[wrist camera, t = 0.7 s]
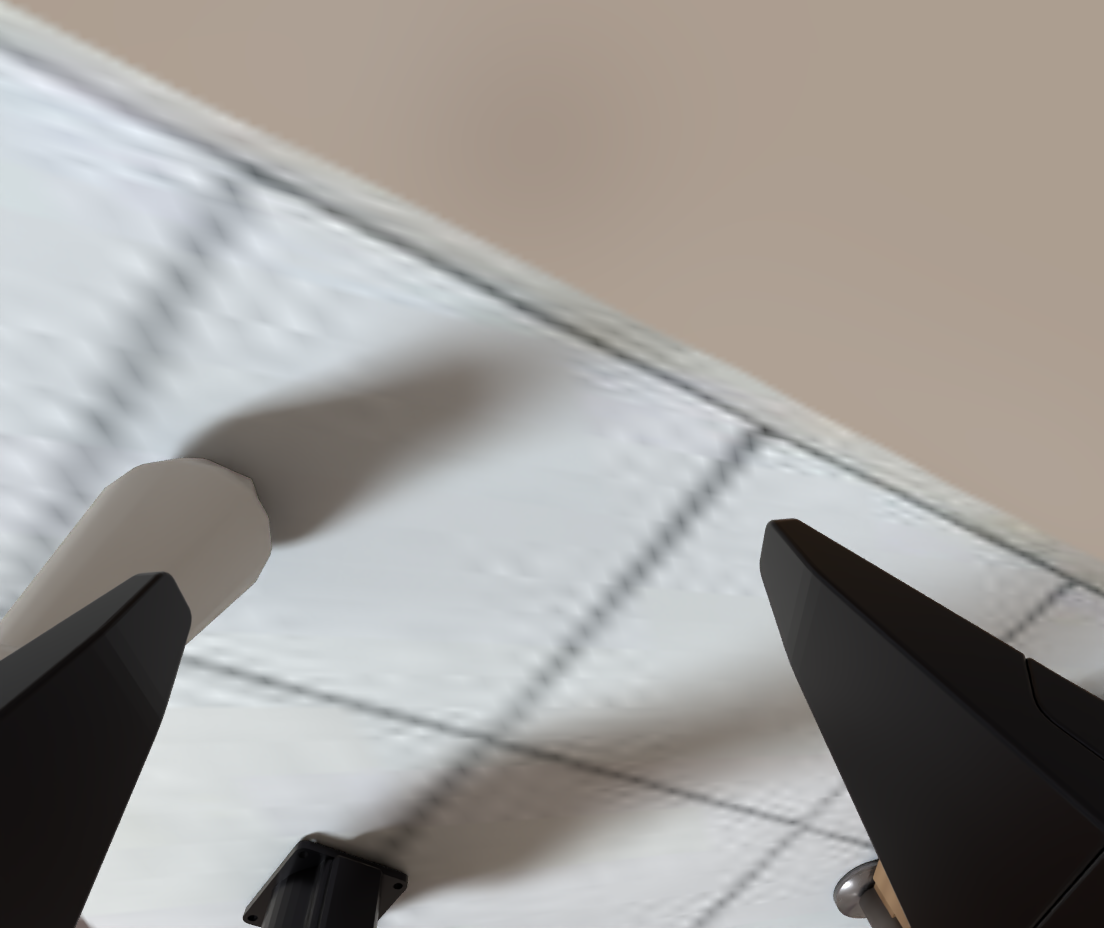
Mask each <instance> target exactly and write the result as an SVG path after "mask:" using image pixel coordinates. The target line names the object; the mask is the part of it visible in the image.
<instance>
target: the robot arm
mask: <svg viewBox="0 0 1104 928" xmlns="http://www.w3.org/2000/svg"><path fill="white" fill-rule="evenodd" d="M760 573H761V577H762V580H763V583H764V586H765V589H766V592H767V595H768V599H769V602H770V605H771V608H772V611H773V614H774V617H775V620H776V623H777V626H778V629H779V632H780V635H781V638H782V641H783V645H784V648H785V651H786V653H787V656H788V659H789V662H790V665H791V667H792V669H793V672H794V674H795V676H796V679H797V681H798V683H799V685H800V687H801V690H802V692H803V694H804V696H805V698H806V700H807V703H808V705H809V707H810V709H811V711H812V714H813V716H814V718H815V720H816V722H817V724H818V727H819V729H820V731H821V733H822V735H823V738H824V740H825V742H826V744H827V746H828V748H829V751H830V753H831V755H832V757H833V759H834V762H835V764H836V766H837V768H838V770H839V772H840V775H841V777H842V779H843V781H844V783H845V785H846V788H847V790H848V792H849V794H850V796H851V799H852V801H853V803H854V805H855V807H856V809H857V812H858V814H859V816H860V818H861V820H862V823H863V825H864V827H865V829H866V831H867V833H868V836H869V838H870V840H871V842H872V844H873V847H874V849H875V851H876V853H877V855H878V857H879V860H880V862H881V864H882V866H883V868H884V871H885V873H886V875H887V877H888V879H889V881H890V884H891V886H892V888H893V890H894V892H895V894H896V897H897V899H898V901H899V903H900V905H901V908H902V910H903V912H904V914H905V916H906V918H907V921H908V923H909V925H910V927H911V928H1104V700H1102V699H1100V698H1098V697H1097V696H1095V695H1093V694H1091V693H1090V692H1088V691H1086V690H1084V689H1083V688H1081V687H1079V686H1077V685H1076V684H1074V683H1072V682H1070V681H1069V680H1067V679H1065V678H1064V677H1062V676H1060V675H1058V674H1057V673H1055V672H1053V671H1052V670H1050V669H1048V668H1047V667H1045V666H1043V665H1042V664H1040V663H1038V662H1037V661H1035V660H1033V659H1032V658H1026V659H1025V656H1024V654H1023V653H1021V652H1020V651H1018V650H1016V649H1014V648H1013V647H1011V646H1009V645H1008V644H1006V643H1004V642H1003V641H1001V640H999V639H998V638H996V637H994V636H993V635H991V634H989V633H988V632H986V631H984V630H983V629H981V628H979V627H978V626H976V625H974V624H973V623H971V622H969V621H968V620H966V619H964V618H962V617H961V616H959V615H957V614H956V613H954V612H952V611H951V610H949V609H947V608H946V607H944V606H942V605H941V604H939V603H937V602H936V601H934V600H932V599H931V598H929V597H927V596H926V595H924V594H922V593H921V592H919V591H917V590H916V589H914V588H912V587H910V586H909V585H907V584H905V583H904V582H902V581H900V580H899V579H897V578H895V577H894V576H892V575H890V574H889V573H887V572H885V571H884V570H882V569H880V568H879V567H877V566H875V565H874V564H872V563H870V562H869V561H867V560H865V559H864V558H862V557H860V556H858V555H857V554H855V553H853V552H852V551H850V550H848V549H847V548H845V547H843V546H842V545H840V544H838V543H837V542H835V541H833V540H832V539H830V538H828V537H827V536H825V535H823V534H822V533H820V532H818V531H817V530H815V529H813V528H812V527H810V526H808V525H806V524H805V523H803V522H801V521H800V520H798V519H793V518H791V519H779V520H771V521H770V522H769V523H768V524H767V526H766V529H765V534H764V540H763V545H762V551H761V557H760ZM191 624H192V614H191V610H190V608H189V606H188V604H187V602H186V600H185V598H184V596H183V594H182V592H181V591H180V589H179V587H178V585H177V583H176V581H175V579H174V578H173V576H172V575H171V574H169V573H168V572H164V571H158V572H146V573H139V574H136V575H134V576H132V577H130V578H129V579H127V580H126V581H124V582H123V583H121V584H119V585H118V586H116V587H115V588H113V589H112V590H110V591H109V592H107V593H105V594H104V595H102V596H101V597H99V598H98V599H96V600H94V601H93V602H91V603H90V604H88V605H87V606H85V607H83V608H82V609H80V610H79V611H77V612H76V613H74V614H72V615H71V616H69V617H68V618H66V619H65V620H63V621H61V622H60V623H58V624H57V625H55V626H54V627H52V628H50V629H49V630H47V631H46V632H44V633H43V634H41V635H39V636H38V637H36V638H35V639H33V640H32V641H30V642H28V643H27V644H25V645H24V646H22V647H21V648H19V649H18V650H16V651H14V652H13V653H11V654H10V655H8V656H7V657H5V658H3V659H2V660H0V928H75V927H76V924H77V922H78V920H79V917H80V915H81V913H82V910H83V908H84V906H85V903H86V901H87V898H88V896H89V894H90V891H91V889H92V887H93V884H94V882H95V880H96V877H97V875H98V872H99V870H100V868H101V865H102V863H103V861H104V858H105V856H106V853H107V851H108V849H109V846H110V844H111V842H112V839H113V837H114V835H115V832H116V830H117V827H118V825H119V823H120V820H121V818H122V816H123V813H124V811H125V808H126V806H127V804H128V801H129V799H130V797H131V794H132V792H133V789H134V787H135V785H136V782H137V780H138V778H139V775H140V773H141V771H142V768H143V766H144V763H145V761H146V759H147V756H148V754H149V752H150V749H151V747H152V744H153V742H154V740H155V737H156V735H157V732H158V730H159V727H160V725H161V722H162V719H163V716H164V713H165V710H166V707H167V704H168V701H169V698H170V694H171V691H172V688H173V685H174V681H175V678H176V675H177V671H178V668H179V665H180V661H181V658H182V655H183V652H184V648H185V645H186V642H187V638H188V635H189V632H190V628H191ZM407 885H408V876H407V875H406V874H404V873H402V872H399V871H396V870H393V869H390V868H387V867H384V866H381V865H378V864H376V863H373V862H370V861H367V860H364V859H361V858H358V857H355V856H352V855H349V854H346V853H343V852H340V851H338V850H335V849H332V848H329V847H326V846H323V845H320V844H317V843H314V842H311V841H301V842H299V843H298V844H296V846H295V847H294V848H293V849H292V851H291V852H290V853H289V854H288V856H287V857H286V858H285V859H284V861H283V862H282V863H281V865H280V866H279V867H278V868H277V870H276V871H275V872H274V873H273V875H272V876H271V877H270V878H269V880H268V881H267V882H266V883H265V885H264V886H263V887H262V888H261V890H260V891H259V892H258V893H257V895H256V896H255V897H254V898H253V900H252V901H251V902H250V904H249V905H248V906H247V907H246V909H245V912H244V915H243V921H244V922H246V923H248V924H251V925H255V926H258V927H261V928H377V921H378V920H379V919H380V918H381V916H382V915H383V914H384V913H385V912H386V911H387V910H388V909H389V907H390V906H391V905H392V904H393V903H394V902H395V901H396V900H397V898H398V897H399V896H400V895H401V894H402V893H403V892H404V891H405V889H406V888H407Z"/></svg>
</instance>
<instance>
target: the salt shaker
mask: <svg viewBox="0 0 1104 928" xmlns="http://www.w3.org/2000/svg"><path fill="white" fill-rule="evenodd" d="M271 550H272V543H271V534H270V525H269V517H268V515H267V514H266V512H265V510H264V508H263V506H262V504H261V503H260V501H259V499H258V496H257V493H256V490H255V487H254V484H253V481H252V479H250V478H248V477H246V476H244V475H241V474H239V473H237V472H235V471H232V470H230V469H228V468H226V467H223V466H221V465H219V464H216V463H214V462H212V461H210V460H207V459H205V458H177V459H171V460H165V461H159V462H153V463H147V464H142V465H140V466H137V467H135V468H133V469H132V470H130V471H129V472H127V473H126V474H124V475H123V476H121V477H120V478H119V479H117V480H116V481H114V482H113V483H111V484H110V485H109V486H107V487H106V488H104V490H103V491H102V492H101V493H100V495H99V496H98V497H97V499H96V500H95V501H94V502H93V504H92V505H91V506H90V508H89V509H88V510H87V511H86V513H85V514H84V515H83V517H82V518H81V519H80V520H79V522H78V523H77V524H76V525H75V527H74V528H73V529H72V531H71V532H70V533H69V534H68V536H67V537H66V538H65V540H64V541H63V542H62V543H61V545H60V546H59V547H58V549H57V550H56V551H55V552H54V554H53V555H52V556H51V557H50V559H49V560H48V561H47V563H46V564H45V565H44V566H43V568H42V569H41V570H40V572H39V573H38V574H37V575H36V577H35V578H34V579H33V581H32V582H31V583H30V584H29V586H28V587H27V588H26V589H25V591H24V592H23V593H22V595H21V596H20V597H19V598H18V600H17V601H16V602H15V604H14V605H13V606H12V607H11V609H10V610H9V611H8V613H7V614H6V615H5V616H4V618H3V619H2V620H1V621H0V660H2V659H3V658H5V657H7V656H8V655H10V654H11V653H13V652H14V651H16V650H18V649H19V648H21V647H22V646H24V645H25V644H27V643H28V642H30V641H32V640H33V639H35V638H36V637H38V636H39V635H41V634H43V633H44V632H46V631H47V630H49V629H50V628H52V627H54V626H55V625H57V624H58V623H60V622H61V621H63V620H65V619H66V618H68V617H69V616H71V615H72V614H74V613H76V612H77V611H79V610H80V609H82V608H83V607H85V606H87V605H88V604H90V603H91V602H93V601H94V600H96V599H98V598H99V597H101V596H102V595H104V594H105V593H107V592H109V591H110V590H112V589H113V588H115V587H116V586H118V585H119V584H121V583H123V582H124V581H126V580H127V579H129V578H130V577H132V576H134V575H136V574H139V573H146V572H158V571H164V572H168V573H169V574H171V575H172V576H173V578H174V579H175V581H176V583H177V585H178V587H179V589H180V591H181V592H182V594H183V596H184V598H185V600H186V602H187V604H188V606H189V608H190V610H191V614H192V624H191V628H190V632H189V635H188V638H187V642H186V644H187V643H189V642H190V641H191V640H192V639H193V638H194V637H195V636H196V635H197V634H199V633H200V632H201V631H202V630H203V629H204V628H205V627H206V626H207V625H209V624H210V623H211V622H212V621H213V620H214V619H215V618H216V617H217V616H219V615H220V614H221V613H222V612H223V611H224V610H225V609H226V608H227V607H229V606H230V605H231V604H232V603H233V602H234V601H235V600H236V599H237V598H239V597H240V596H241V595H242V594H243V593H244V592H245V591H246V590H247V589H249V588H250V587H251V586H252V585H253V584H254V583H255V582H256V580H257V579H258V577H259V575H260V573H261V571H262V569H263V568H264V566H265V564H266V562H267V560H268V558H269V557H270V554H271Z"/></svg>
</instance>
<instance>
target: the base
mask: <svg viewBox="0 0 1104 928" xmlns="http://www.w3.org/2000/svg"><path fill="white" fill-rule="evenodd" d="M878 861H879V860H878ZM878 861H873V862H869V863H866V864H863V865H861V866H859V867H857V868H855V869H853V870H852V871H850V872H849V873H847V874H846V875H845V876H844V877H843V878H842V879H841V880H840V881H839V883H838V884H837V886H836V887H835V890H834V894H833V898H834V901H835V904H836V905H837V907H838V909H839V911H840V912H841V913H842V914H844V915H845V916H848V917H852V918H866V916H865V914H864V912H863V911H862V909H861V907H860V905H859V900H860V898H861V896H862V895H863V894H864V893H865V892H866V891H868V890H869V889H871V888H873V887H874V885H875V881H874V880H873V876H874V873H875V870H876V867H877V864H878Z"/></svg>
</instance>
